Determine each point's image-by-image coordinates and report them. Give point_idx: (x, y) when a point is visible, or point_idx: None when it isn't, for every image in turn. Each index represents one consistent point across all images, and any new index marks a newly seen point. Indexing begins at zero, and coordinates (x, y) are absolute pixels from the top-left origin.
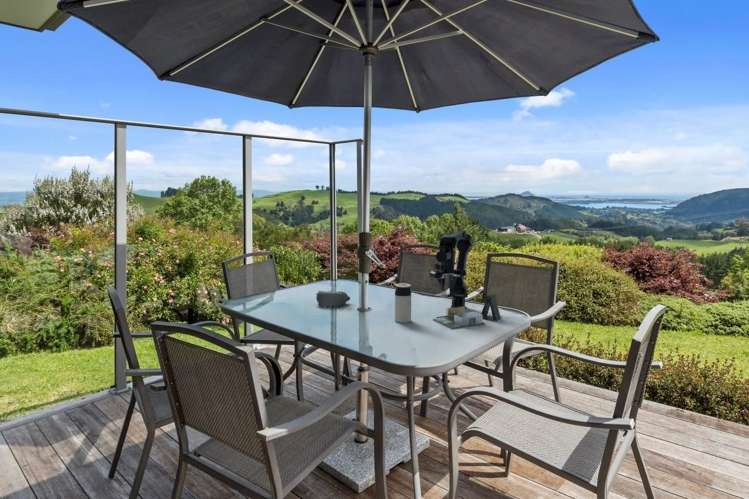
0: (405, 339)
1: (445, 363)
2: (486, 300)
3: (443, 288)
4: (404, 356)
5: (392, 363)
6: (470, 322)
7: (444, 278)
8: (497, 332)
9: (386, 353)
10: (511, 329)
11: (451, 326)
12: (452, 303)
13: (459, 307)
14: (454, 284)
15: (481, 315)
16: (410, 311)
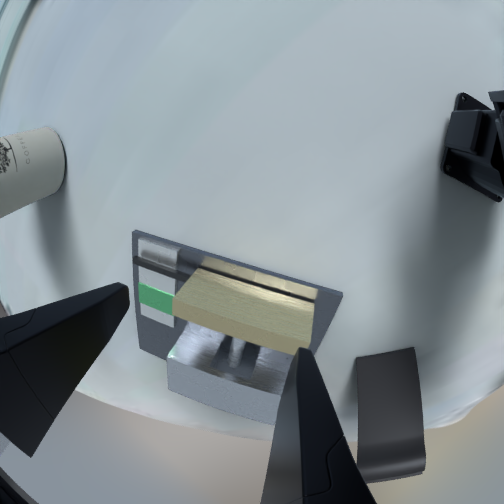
0: (30, 295)
1: None
2: (357, 456)
3: (105, 334)
4: None
5: None
6: (246, 371)
7: (23, 450)
8: (247, 430)
9: (11, 310)
10: None
11: (148, 342)
12: (461, 121)
13: (264, 342)
14: (274, 446)
15: (268, 422)
16: (24, 204)
